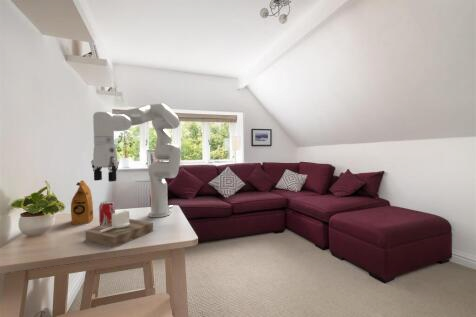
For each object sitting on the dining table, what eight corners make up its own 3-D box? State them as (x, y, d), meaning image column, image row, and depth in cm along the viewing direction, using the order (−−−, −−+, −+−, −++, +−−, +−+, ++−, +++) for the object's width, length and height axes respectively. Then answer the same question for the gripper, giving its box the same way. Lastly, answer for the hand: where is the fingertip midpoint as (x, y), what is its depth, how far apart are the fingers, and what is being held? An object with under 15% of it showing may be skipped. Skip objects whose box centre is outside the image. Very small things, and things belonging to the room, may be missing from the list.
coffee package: (67, 226, 116) (66, 183, 116) (74, 219, 128) (73, 180, 127) (90, 223, 120) (89, 182, 119) (95, 217, 132) (94, 179, 131)
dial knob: (122, 222, 107) (122, 210, 107) (133, 224, 104) (132, 211, 104) (95, 231, 95) (94, 217, 95) (106, 233, 92) (105, 219, 92)
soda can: (108, 228, 113) (107, 204, 112) (96, 227, 114) (95, 203, 114) (118, 223, 120) (117, 200, 119) (106, 223, 121) (106, 200, 121)
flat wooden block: (126, 226, 115) (126, 217, 115) (153, 231, 108) (152, 222, 108) (85, 240, 97) (85, 230, 97) (114, 247, 90) (114, 236, 90)
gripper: (125, 141, 98) (126, 180, 99) (100, 142, 106) (101, 178, 106) (108, 140, 91) (109, 182, 92) (83, 141, 99) (84, 180, 100)
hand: (105, 180), depth 99 cm, fingers open, 9 cm apart
